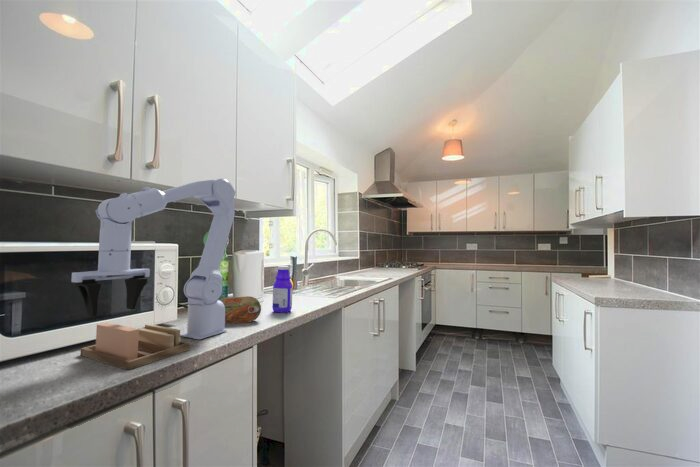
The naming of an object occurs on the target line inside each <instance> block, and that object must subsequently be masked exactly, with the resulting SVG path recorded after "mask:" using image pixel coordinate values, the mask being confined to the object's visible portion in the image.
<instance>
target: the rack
mask: <svg viewBox="0 0 700 467" xmlns="http://www.w3.org/2000/svg"><path fill="white" fill-rule="evenodd" d="M140 350H142V351H140ZM190 350H191V343H190V342H187V341H182V340H180V345H179V346H175V347H172V348H168V347H163V346H159V345H155V344H151V343H146V342H142V341H138V358H137V359H133V360H128V359H125V358H121V357H117V356H114V355H110V354H107V353H103V352H100V351H96V344H94V345H89V346H84V347H81V348H80V354H79V355H80V356H82V357H86V358H89V359H92V360H96V361H98V362H102V363H104V364H108V365H111V366H115V367H116V368H117V367H118V368H121V369H124V370H126V371H130V370H132V369H133V370H134V369H136V368H139V367H142V366H144V365H148V364H151V363H154V362H157V361H160V360H162V359H165V358H166V359H167V358H168V357H172V356H174V355H177V354H180V353H183V352H186V351H190ZM144 351H145V352H144ZM147 352H148V353H147ZM149 352H150V353H149Z"/></svg>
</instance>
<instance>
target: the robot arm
mask: <svg viewBox="0 0 700 467" xmlns="http://www.w3.org/2000/svg"><path fill="white" fill-rule="evenodd" d="M236 193H237V191H235V188H234V187H233V185H232V183H231V182H230V181H229V180H227V179H226V178H217V179H207V180H201V181H199V180H198V181H193V182H188V183H185V184H182V185H179V186H176V187H172V188H169V189H165V190H162V191H161V190H160V189H157V187H155V188H154V187H153V188H152V187H149V186H145V187H142V188H141V190H140V191H137V192H133V193H127V192H125V193H120V194H119V196H117V197H113V198H108V199H105V200H103V201H101V203H99V205H98V207H97V209H95V214H96V216H97V218H98V220H100V228H99V240H98V262H97V263H98V264H97V270H90V271H80V272H79V271H78V272H75V271H74V272H71V279H70V280H71V281H70V282H71V283H75V284H74V285H75V288H76V289H77V291H78V292H79V294H80V296H81V297H82V299H83V302H84V305H85V307H86V313H87V316H90V317H95V316H97V314H98V306H99V305H98V301H99V295H100V291H101V286H102V284H101V283H98V281H105V280H106V281H108V280H118V279H119V280H122V279H124V283H125V289H126V290H125V291H126V300H125V304H126V309H128V310H135V309H136V306H137V304H138V303H137V302H138V300H139V297H140V295H141V292H142V291H143V290H144V287H145V286H146V285H147V283H148V280H149V277H150V274H151V273H150V272H151V269H150V268H131V258H132V257H131V253H132V252H131V250H132V249H131V248H132V232H133V231H132V225H133V224H132V222H134V221H135V220H136V219H139V218H142V217H145V216H148V215H151V214H154V213H157V212H161V211H164V210H165V209H166V206H167V204H169V203H172V202H176V201H180V200H183V199H187V198H190V197H191V198H192V197H193V199H198V200H199V201H201V203H202V204H204V205H205V207H207V208H208V209H209V210H210V211H211V212H212V215H213V217H212V221H211V224H210V227H209V231H208V233H207V234H208V235H207V237H206V241H205V245H204V247H203V251H202V254H201V257H200V260H199V264H198V266H197V267H196V268H195V269H194V270H193V271H192V272H191V274H190V276H189V278H188V280H187V281H186V282H185V284H184V286H183V293H184V296H185V297H186V298H187V303H188V304H187V325H186V328H187V329H186V331H185V332H180V337H184V338H189V339H193V340H202V339H205V338H210V337H213V336H215V335H219V334H222V333H224V332H227V330H228V329H227V328H226V324H225V306H224V304H223V303H222V302H221V301H219V299H221V296H222V293H223V285H222V282H223V279H224V278H223V277H224V276H223V275H222V273H221V272H220V268H221V264H222V260H223V256H224V253H225V249H226V246H227V242H228V239H229V236H230V232H231V229H232V225H233V221H234V218H235V214H236V212H235V211H236V210H235V202H234V200H235V196H236Z"/></svg>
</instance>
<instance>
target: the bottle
mask: <svg viewBox="0 0 700 467" xmlns="http://www.w3.org/2000/svg"><path fill="white" fill-rule="evenodd" d="M292 283H293V282H292V281H291V275H290V266H288V265H278V266H277V274H276V275H275V282H274V283H273V285H272V311H273V312H274V313H282V314H283V313H284V314H285V313H289V312H290V311H291V310H292V306H293V284H292Z"/></svg>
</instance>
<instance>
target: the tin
mask: <svg viewBox="0 0 700 467" xmlns="http://www.w3.org/2000/svg"><path fill="white" fill-rule="evenodd" d="M218 300H219V301H221V302H222V303H223V304H224V306H225V325H231V324H246V323H247V324H248V323H252V322H254V321H255V320H257V319H258V318H259V317H260V315H261V310H262V306H261V302H260V301H259V300H258V299H257V298H256V297H254V296H229V297H228V296H227V297H226V296H225V297H220V298H219V299H218Z"/></svg>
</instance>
